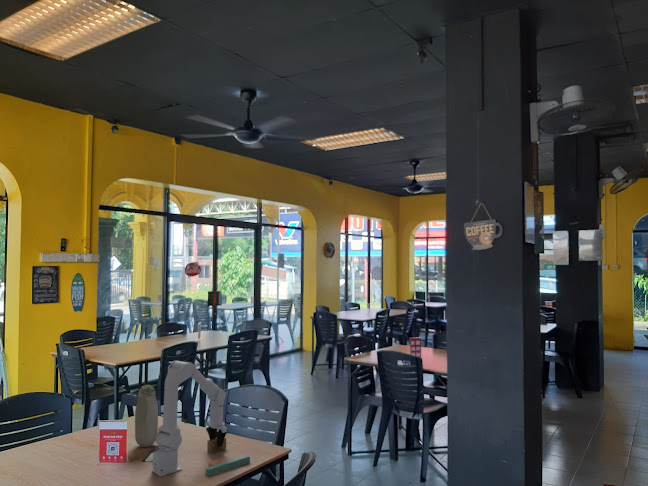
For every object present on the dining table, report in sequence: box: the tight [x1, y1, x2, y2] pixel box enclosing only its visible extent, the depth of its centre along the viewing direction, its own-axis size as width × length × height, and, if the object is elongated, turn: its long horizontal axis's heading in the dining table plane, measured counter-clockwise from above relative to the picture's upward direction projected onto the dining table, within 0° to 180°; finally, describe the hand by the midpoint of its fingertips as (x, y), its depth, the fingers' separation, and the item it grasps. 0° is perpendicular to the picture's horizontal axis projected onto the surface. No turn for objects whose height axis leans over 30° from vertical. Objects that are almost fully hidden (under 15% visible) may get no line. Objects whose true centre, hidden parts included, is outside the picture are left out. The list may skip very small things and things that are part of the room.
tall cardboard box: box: [206, 437, 227, 454], centre depth 226 cm, size 8×3×5 cm, turn 133°
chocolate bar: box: [141, 445, 160, 463], centre depth 222 cm, size 9×1×18 cm
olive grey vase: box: [134, 384, 159, 448], centre depth 232 cm, size 10×10×28 cm
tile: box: [207, 457, 229, 467], centre depth 207 cm, size 7×7×2 cm
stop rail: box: [205, 455, 251, 477], centre depth 205 cm, size 20×2×2 cm, turn 133°
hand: (216, 444), depth 225 cm, fingers open, 6 cm apart
